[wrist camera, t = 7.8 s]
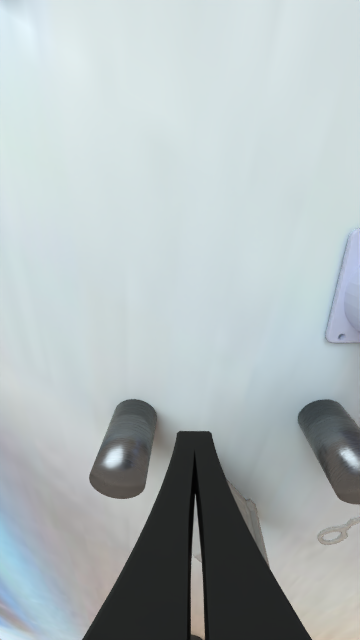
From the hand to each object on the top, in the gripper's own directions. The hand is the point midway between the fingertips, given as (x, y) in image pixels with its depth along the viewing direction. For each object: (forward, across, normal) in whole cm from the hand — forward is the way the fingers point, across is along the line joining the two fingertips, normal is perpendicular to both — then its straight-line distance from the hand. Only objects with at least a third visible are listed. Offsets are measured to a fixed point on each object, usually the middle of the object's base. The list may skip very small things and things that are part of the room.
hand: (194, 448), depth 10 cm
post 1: (+9, +6, +8) cm, 14 cm away
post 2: (+9, -12, +8) cm, 17 cm away
